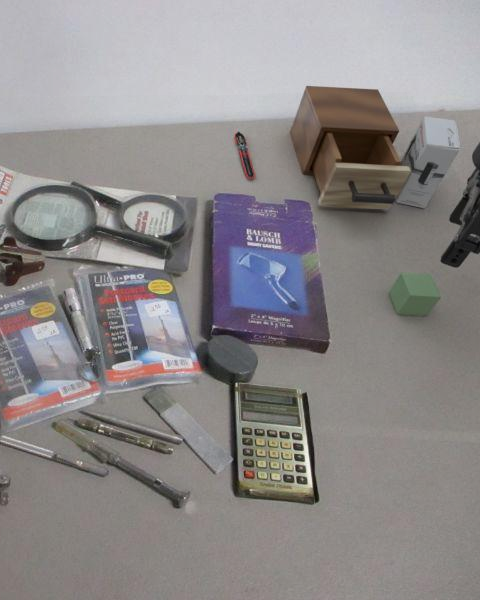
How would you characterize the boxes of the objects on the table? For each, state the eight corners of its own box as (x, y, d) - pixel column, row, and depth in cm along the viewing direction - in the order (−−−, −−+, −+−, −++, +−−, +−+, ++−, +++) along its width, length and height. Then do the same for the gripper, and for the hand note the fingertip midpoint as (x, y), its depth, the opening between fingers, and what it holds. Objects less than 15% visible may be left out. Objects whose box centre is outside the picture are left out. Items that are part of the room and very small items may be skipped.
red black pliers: (245, 180, 101) (246, 177, 101) (232, 133, 110) (233, 130, 110) (256, 181, 102) (257, 178, 101) (242, 133, 111) (243, 130, 110)
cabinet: (375, 178, 103) (399, 130, 96) (302, 174, 103) (321, 126, 96) (356, 136, 111) (378, 89, 104) (289, 132, 111) (306, 85, 104)
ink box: (392, 172, 104) (424, 113, 95) (422, 178, 103) (457, 119, 94) (394, 203, 99) (427, 143, 90) (425, 209, 98) (462, 149, 89)
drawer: (397, 227, 94) (420, 189, 88) (325, 224, 94) (343, 185, 88) (370, 166, 104) (389, 127, 98) (305, 162, 104) (320, 124, 98)
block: (417, 293, 86) (431, 274, 83) (426, 316, 83) (441, 297, 80) (388, 292, 86) (401, 272, 83) (396, 314, 83) (410, 295, 80)
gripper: (498, 91, 68) (429, 200, 80) (487, 156, 60) (413, 267, 72) (571, 110, 66) (489, 220, 78) (571, 180, 57) (479, 290, 70)
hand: (452, 242), depth 75 cm, fingers open, 8 cm apart
